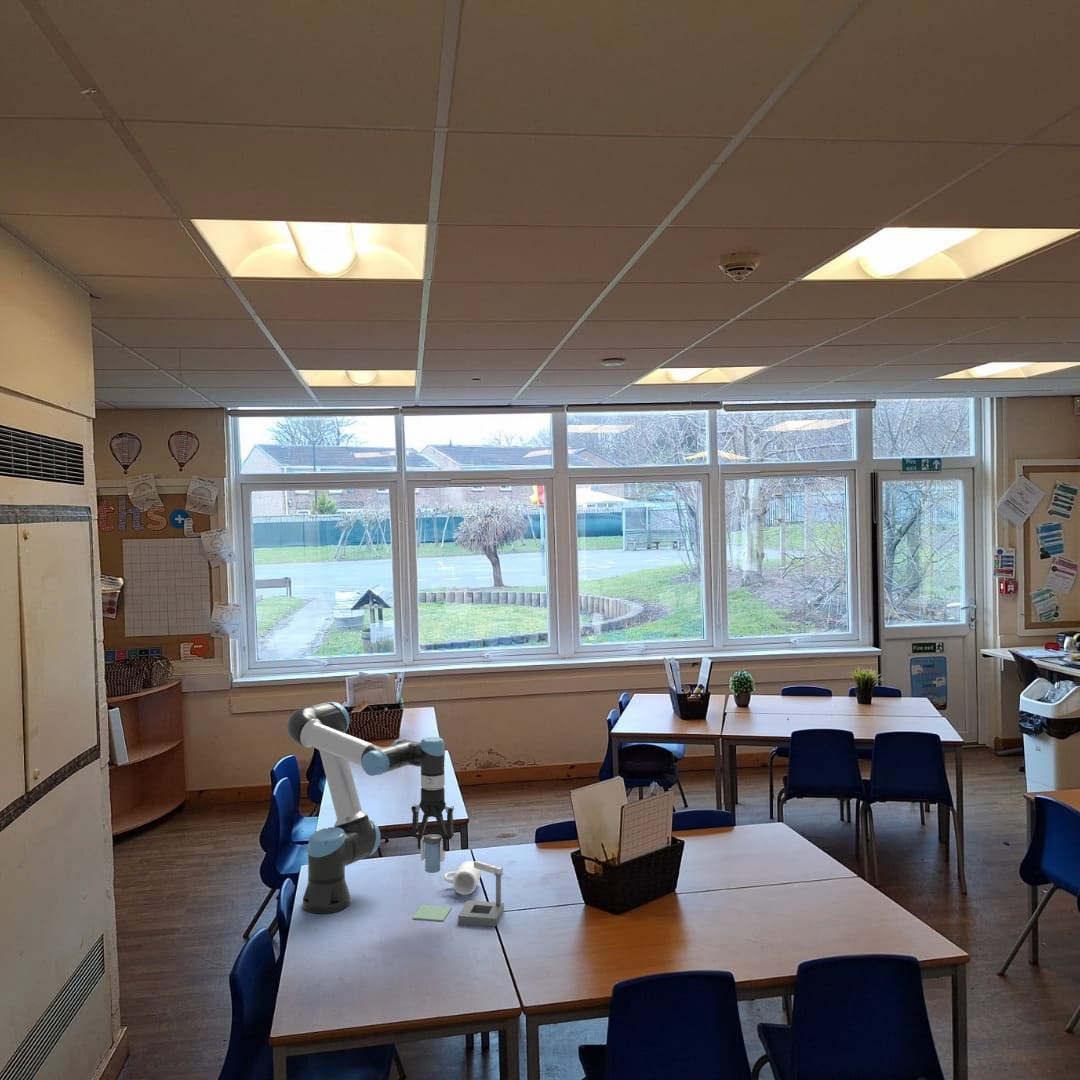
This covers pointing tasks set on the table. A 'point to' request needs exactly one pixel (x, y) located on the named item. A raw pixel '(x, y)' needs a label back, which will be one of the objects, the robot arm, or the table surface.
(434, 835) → the plug
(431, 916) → the mat
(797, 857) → the table surface
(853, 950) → the table surface
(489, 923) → the socket
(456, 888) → the mug
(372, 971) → the table surface
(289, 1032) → the table surface
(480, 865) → the lever
